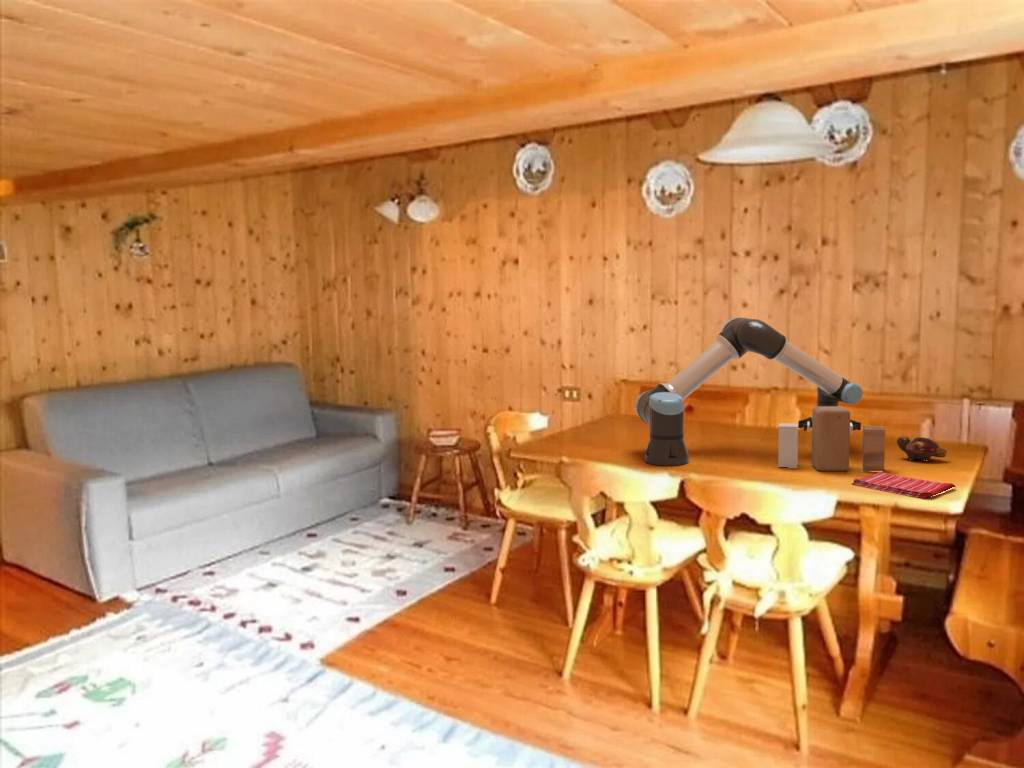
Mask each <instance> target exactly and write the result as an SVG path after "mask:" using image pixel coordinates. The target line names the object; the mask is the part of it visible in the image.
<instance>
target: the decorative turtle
mask: <svg viewBox="0 0 1024 768" xmlns="http://www.w3.org/2000/svg"><path fill="white" fill-rule="evenodd" d="M896 443H897V446H898V447H899V449H900V450H901V451H902V452H904V453H905V454H906V456H907V458H908V460H909V459H911V460H913V461H915V460H916V459H917V458H919V459H921V460H922V461H923V460H925V461H926V460H928V461H930V460H931V458H932V457H935V458H945V457H946V456H947V454H948V452H947V449H944V448H942V447H940V445H939V444H938V443H937V442H936V441H934V440H932V439H930V438H927V437H915V438H913V439H911V440H910V438H909V437H907V436H900V437H898V438H897V440H896ZM914 459H915V460H914Z"/></svg>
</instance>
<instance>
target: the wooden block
mask: <svg viewBox="0 0 1024 768" xmlns="http://www.w3.org/2000/svg"><path fill="white" fill-rule="evenodd" d="M811 414H812V416H811V417H812V428H811V460H810V461H811V465H812V464H813V465H812V466H813V467H814V468H815V469H816V470H817V471H819V470H820V471H819V472H847V471H849V469H850V441H851V440H850V438H851V437H850V436H851V434H850V420H851V411H850V410H848V409H847V408H845V407H844V406H842V405H839V406H817V405H815V406H813V408H812V412H811ZM845 470H846V471H845Z"/></svg>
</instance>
